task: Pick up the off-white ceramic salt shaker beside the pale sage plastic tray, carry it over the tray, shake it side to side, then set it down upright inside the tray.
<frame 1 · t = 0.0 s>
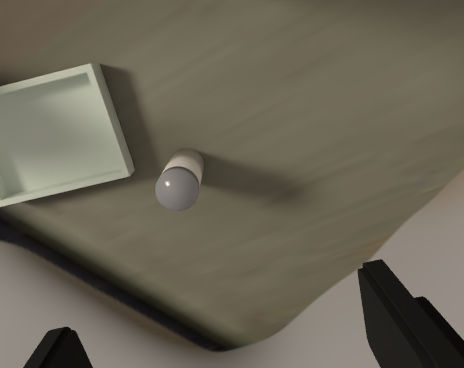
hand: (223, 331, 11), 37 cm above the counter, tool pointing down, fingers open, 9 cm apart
shaker: (187, 165, 47), on the counter
tray: (52, 135, 46), on the counter
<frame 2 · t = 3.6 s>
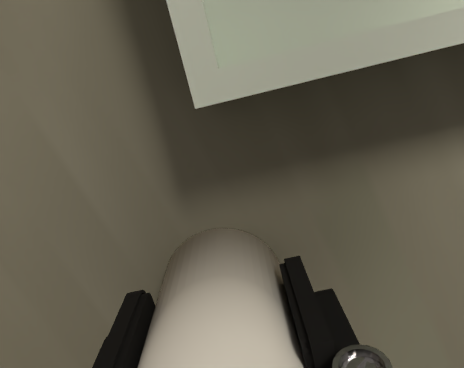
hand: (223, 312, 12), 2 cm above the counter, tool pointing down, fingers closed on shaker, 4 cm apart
shaker: (223, 280, 14), on the counter, touching gripper
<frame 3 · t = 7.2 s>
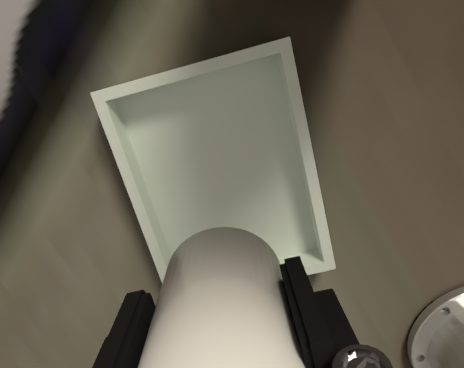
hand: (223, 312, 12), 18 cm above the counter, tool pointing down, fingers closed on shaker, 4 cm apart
shaker: (224, 279, 14), point 16 cm above the counter, touching gripper
tray: (223, 176, 29), on the counter
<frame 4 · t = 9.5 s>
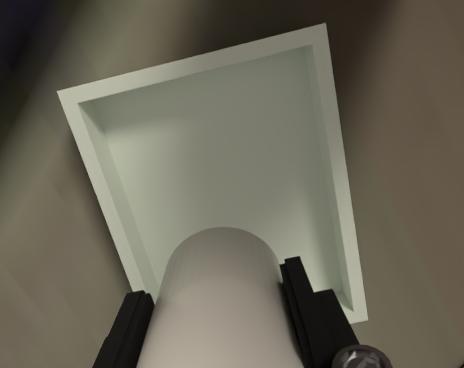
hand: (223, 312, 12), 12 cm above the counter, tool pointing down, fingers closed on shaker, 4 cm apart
shaker: (223, 279, 14), point 10 cm above the counter, touching gripper
tray: (229, 200, 23), on the counter
when the fingers open (4 cm above the counter, at t = 11.2 s): shaker drops 1 cm, resting on tray.
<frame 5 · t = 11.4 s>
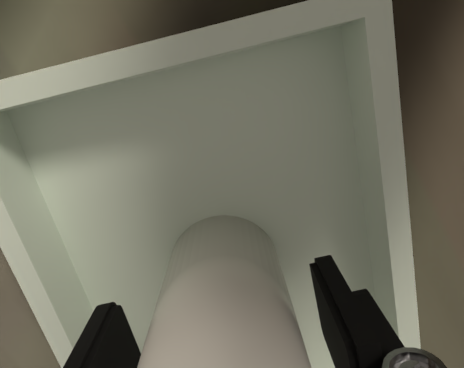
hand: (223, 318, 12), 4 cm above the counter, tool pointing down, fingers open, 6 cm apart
shaker: (224, 265, 15), point 1 cm above the counter, touching tray
tray: (223, 255, 16), on the counter
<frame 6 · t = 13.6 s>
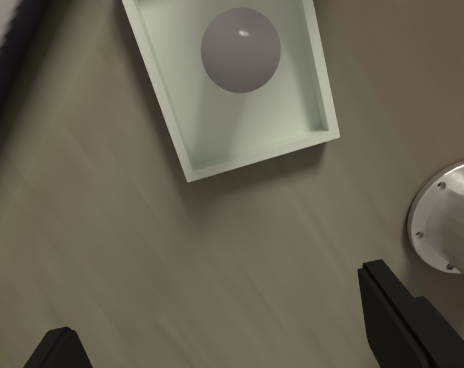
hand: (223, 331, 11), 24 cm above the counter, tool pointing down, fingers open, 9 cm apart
shaker: (233, 56, 30), point 1 cm above the counter, touching tray
tray: (232, 57, 31), on the counter
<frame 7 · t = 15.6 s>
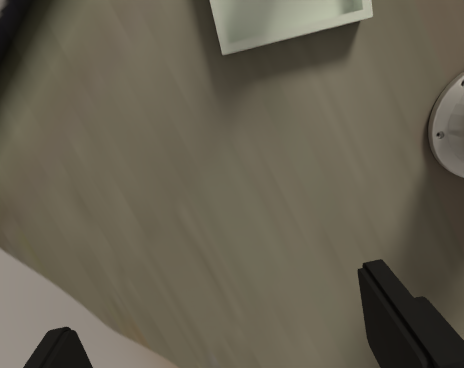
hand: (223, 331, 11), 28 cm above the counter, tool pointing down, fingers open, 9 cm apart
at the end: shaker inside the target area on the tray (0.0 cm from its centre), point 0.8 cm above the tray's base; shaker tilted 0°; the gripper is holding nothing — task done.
